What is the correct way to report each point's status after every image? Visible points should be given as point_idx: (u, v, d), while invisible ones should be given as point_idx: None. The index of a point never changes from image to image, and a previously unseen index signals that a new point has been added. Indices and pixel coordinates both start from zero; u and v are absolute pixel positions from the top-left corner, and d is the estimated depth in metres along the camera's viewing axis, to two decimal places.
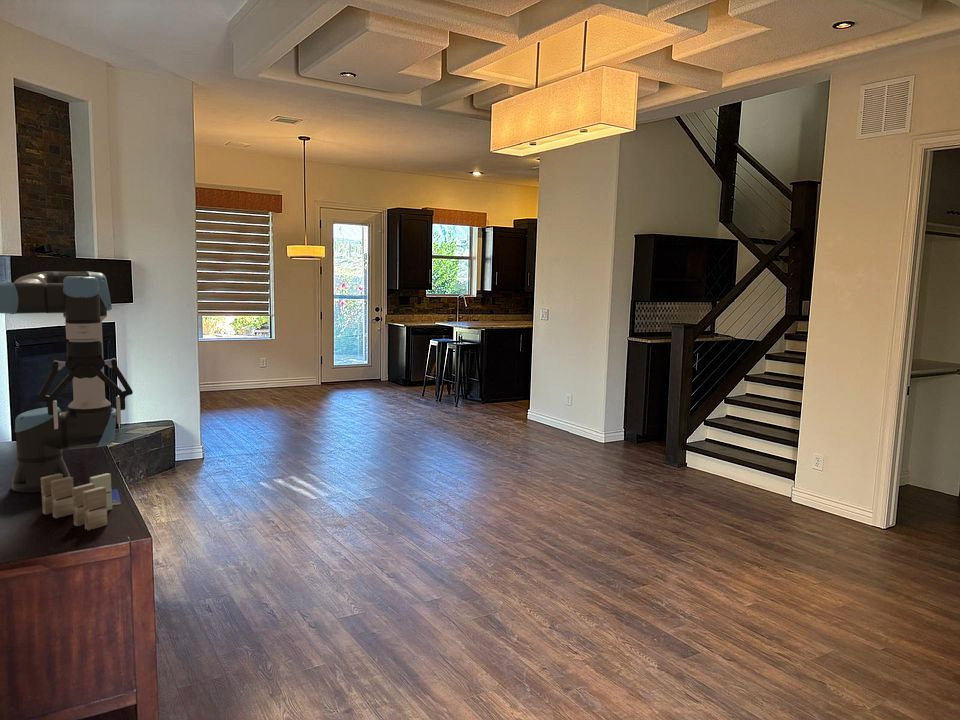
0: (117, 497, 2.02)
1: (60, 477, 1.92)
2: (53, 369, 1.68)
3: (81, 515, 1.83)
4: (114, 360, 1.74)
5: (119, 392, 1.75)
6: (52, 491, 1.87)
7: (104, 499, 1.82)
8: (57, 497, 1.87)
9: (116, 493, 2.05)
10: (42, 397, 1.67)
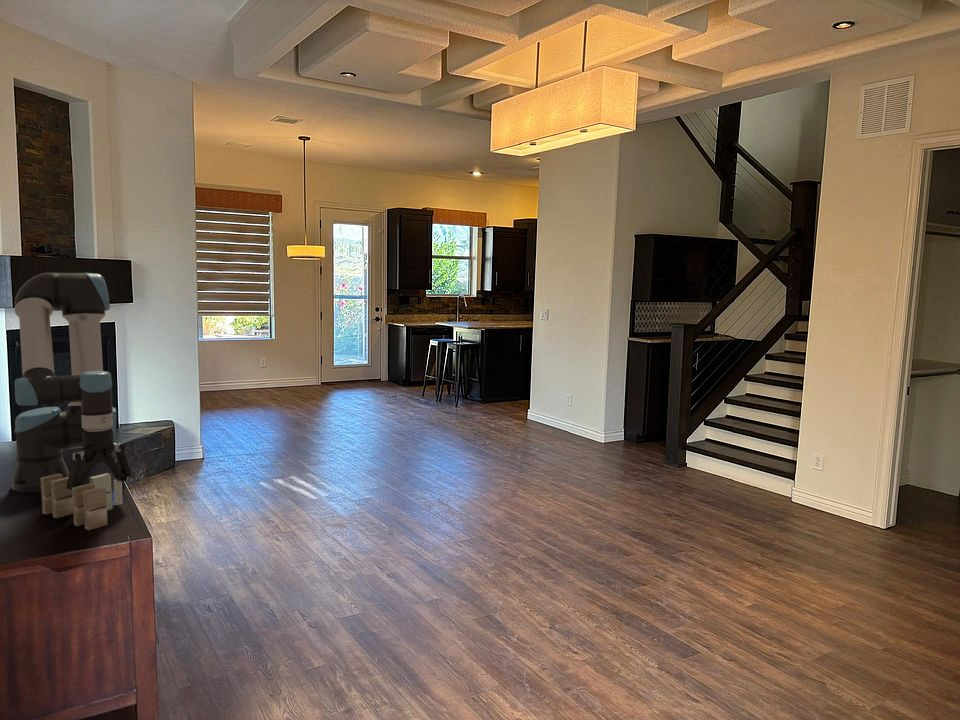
0: None
1: (60, 477, 1.92)
2: (77, 461, 1.85)
3: (81, 515, 1.83)
4: (123, 445, 1.96)
5: (121, 475, 1.96)
6: (52, 491, 1.87)
7: (104, 499, 1.82)
8: (57, 497, 1.87)
9: None
10: None
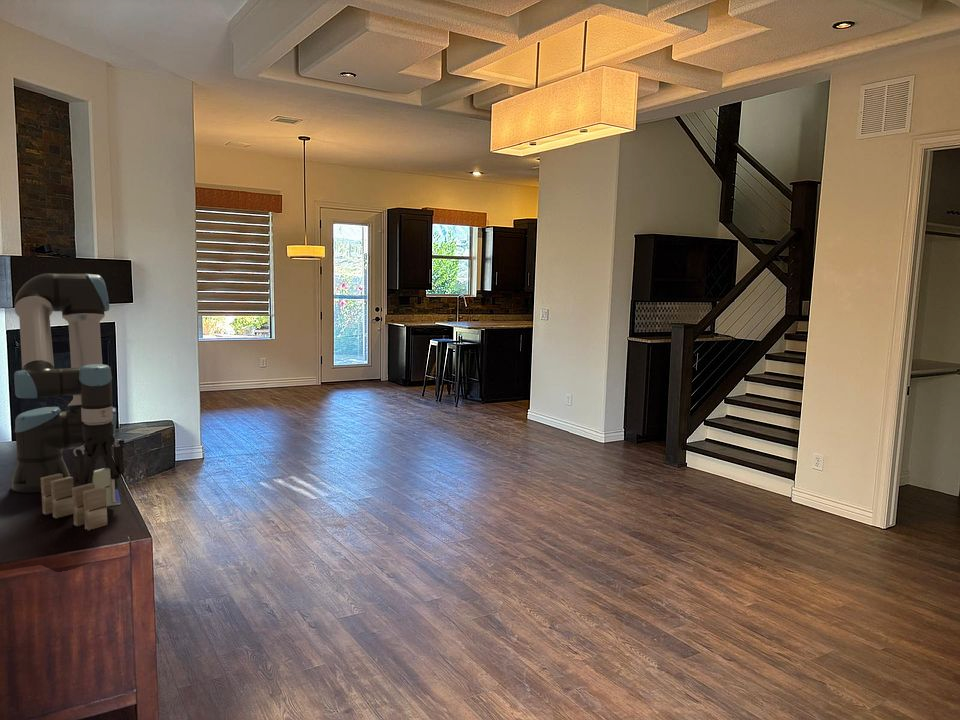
0: (117, 497, 2.02)
1: (60, 477, 1.92)
2: (79, 456, 1.86)
3: (81, 515, 1.83)
4: (123, 441, 1.96)
5: (115, 473, 1.95)
6: (52, 491, 1.87)
7: (104, 499, 1.82)
8: (57, 497, 1.87)
9: (116, 493, 2.05)
10: (83, 481, 1.87)
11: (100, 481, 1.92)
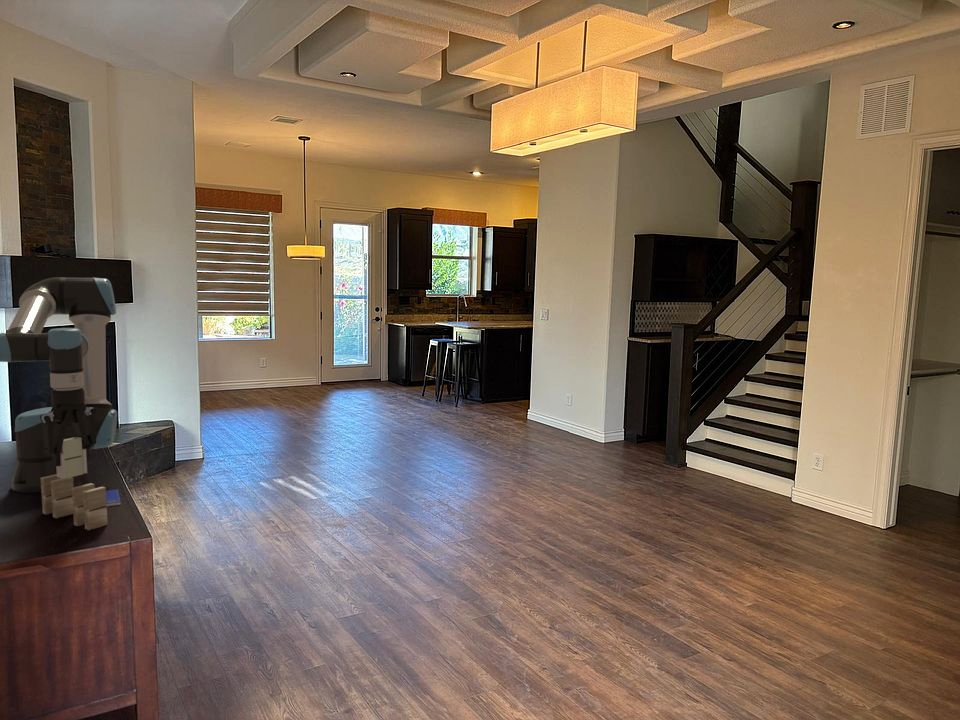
0: (117, 497, 2.02)
1: None
2: (48, 423, 1.78)
3: (81, 515, 1.83)
4: (95, 409, 1.88)
5: (86, 442, 1.87)
6: (52, 491, 1.87)
7: (104, 499, 1.82)
8: (57, 497, 1.87)
9: (116, 493, 2.05)
10: (52, 450, 1.79)
11: (70, 450, 1.84)
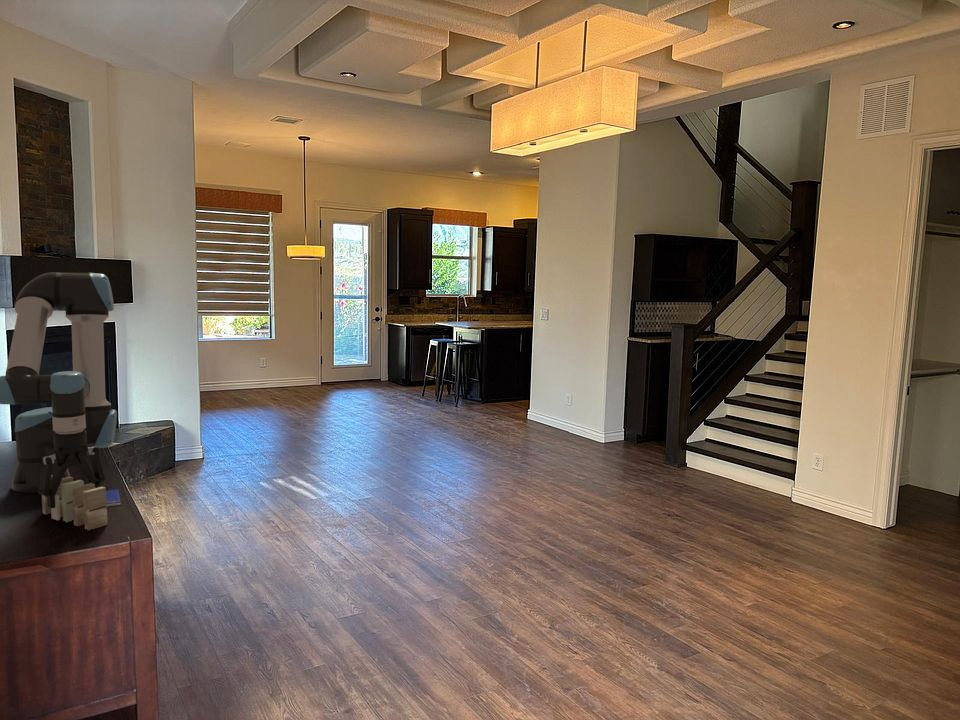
0: (117, 498, 2.02)
1: None
2: (48, 465, 1.79)
3: (81, 515, 1.83)
4: (97, 448, 1.89)
5: (94, 480, 1.90)
6: None
7: (104, 499, 1.82)
8: None
9: (116, 493, 2.05)
10: (47, 492, 1.79)
11: None
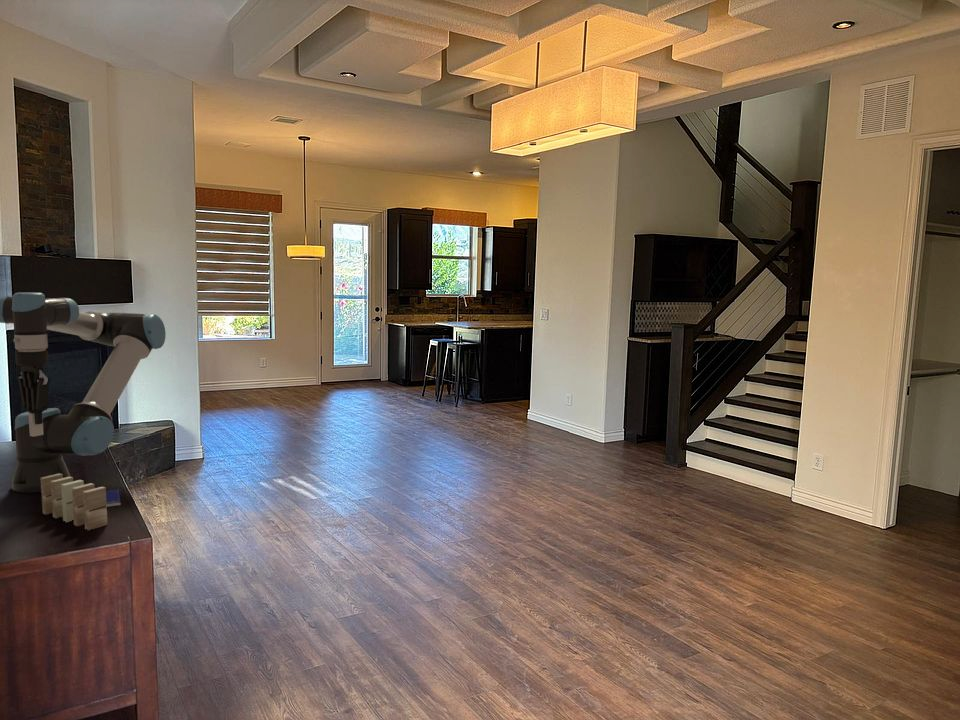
0: (117, 498, 2.01)
1: (60, 477, 1.92)
2: (18, 380, 1.92)
3: (81, 515, 1.83)
4: (40, 379, 1.86)
5: (33, 407, 1.90)
6: (52, 491, 1.87)
7: (104, 499, 1.82)
8: (57, 497, 1.87)
9: (117, 494, 2.05)
10: (24, 405, 1.92)
11: None
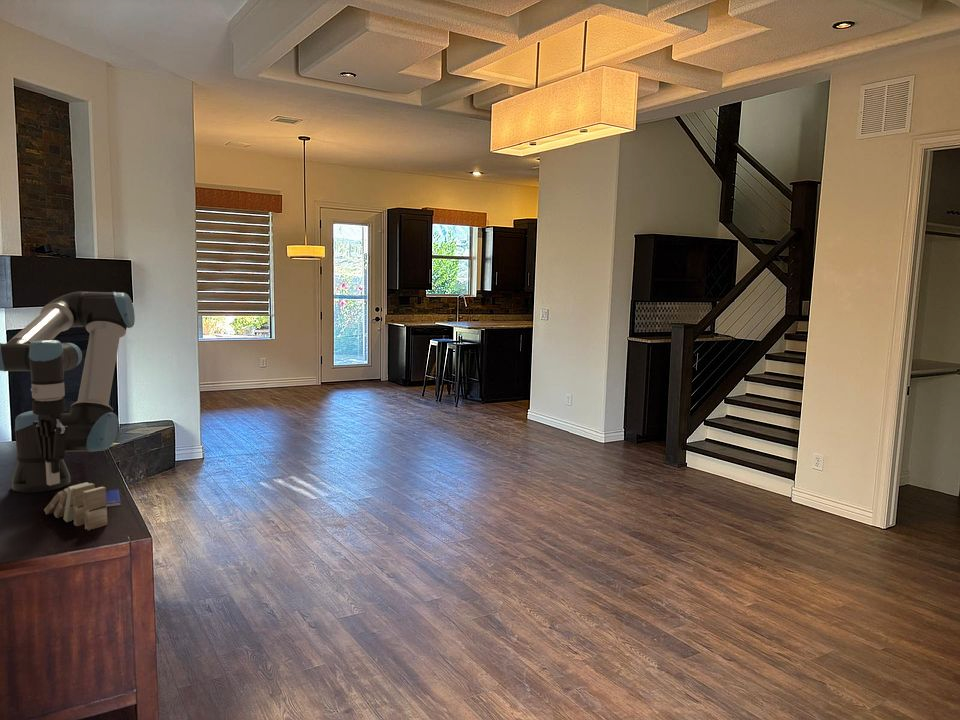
0: (117, 498, 2.01)
1: None
2: (35, 428, 1.90)
3: (81, 515, 1.83)
4: (57, 429, 1.84)
5: (50, 456, 1.88)
6: (62, 497, 1.84)
7: (104, 499, 1.82)
8: (64, 503, 1.85)
9: (117, 494, 2.05)
10: (41, 454, 1.90)
11: None
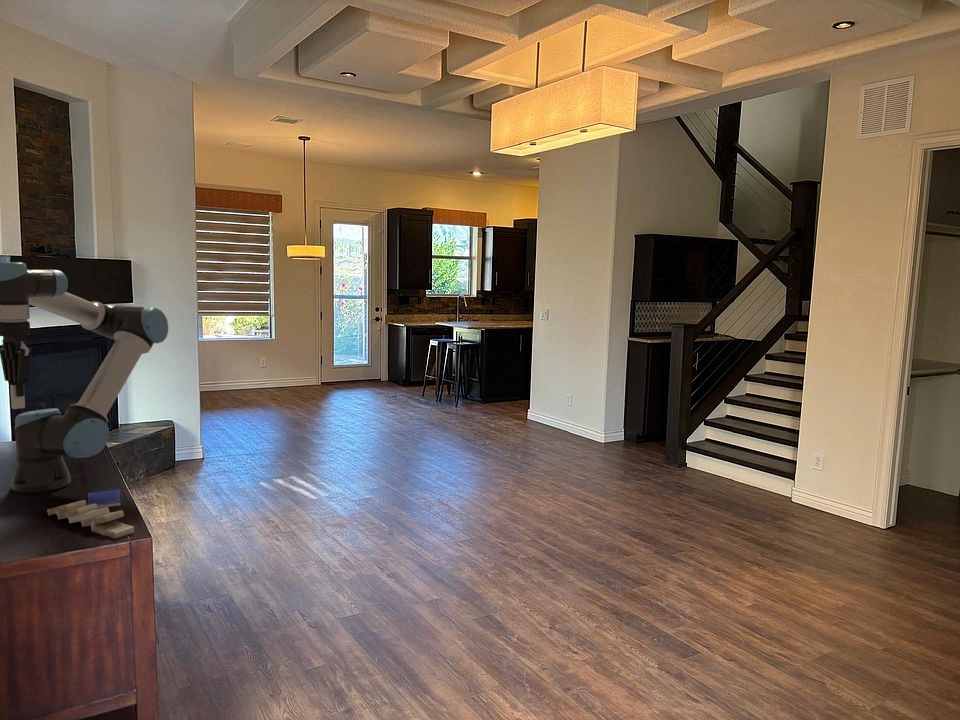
0: (117, 498, 2.01)
1: (82, 506, 1.88)
2: (0, 352, 1.89)
3: None
4: (21, 350, 1.83)
5: (14, 379, 1.86)
6: (72, 512, 1.83)
7: None
8: None
9: (117, 494, 2.05)
10: (5, 377, 1.89)
11: None
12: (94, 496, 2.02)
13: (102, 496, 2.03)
